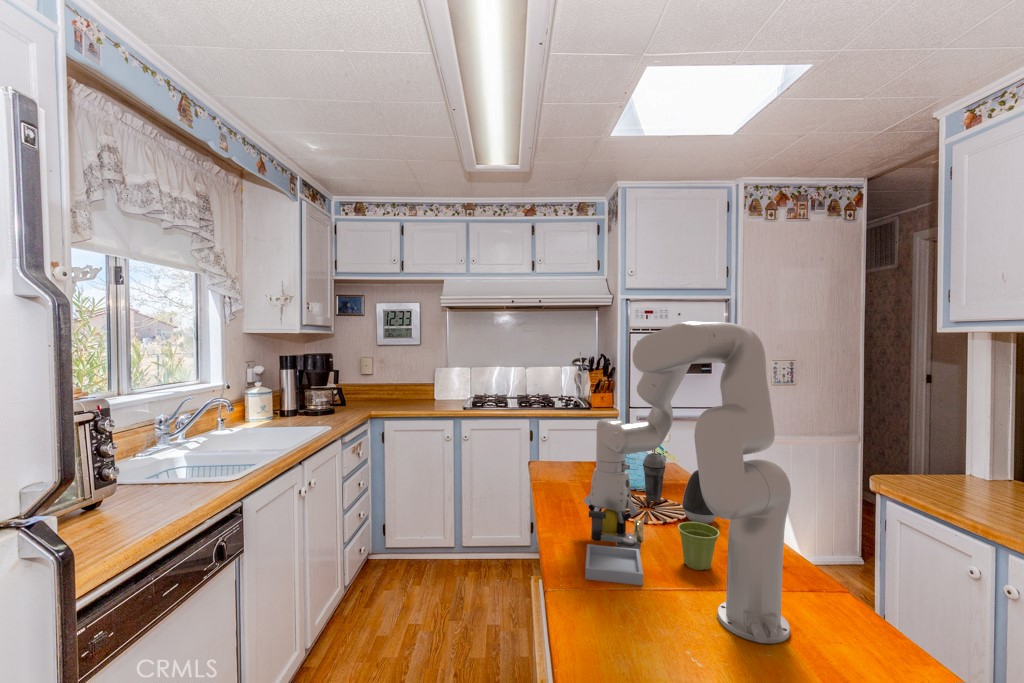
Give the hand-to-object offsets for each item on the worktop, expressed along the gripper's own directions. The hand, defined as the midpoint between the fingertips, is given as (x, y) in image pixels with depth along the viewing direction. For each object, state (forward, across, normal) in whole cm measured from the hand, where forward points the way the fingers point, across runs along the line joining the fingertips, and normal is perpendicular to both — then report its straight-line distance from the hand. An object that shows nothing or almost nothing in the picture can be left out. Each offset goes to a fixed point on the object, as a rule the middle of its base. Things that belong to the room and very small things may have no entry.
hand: (609, 532), depth 132 cm
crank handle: (0, -3, +5) cm, 6 cm away
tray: (+2, -7, +14) cm, 16 cm away
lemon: (+2, 0, 0) cm, 2 cm away
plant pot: (+3, -23, 0) cm, 23 cm away
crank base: (+2, -6, 0) cm, 6 cm away
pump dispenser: (+2, -16, -29) cm, 33 cm away
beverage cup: (+2, +1, -37) cm, 37 cm away
